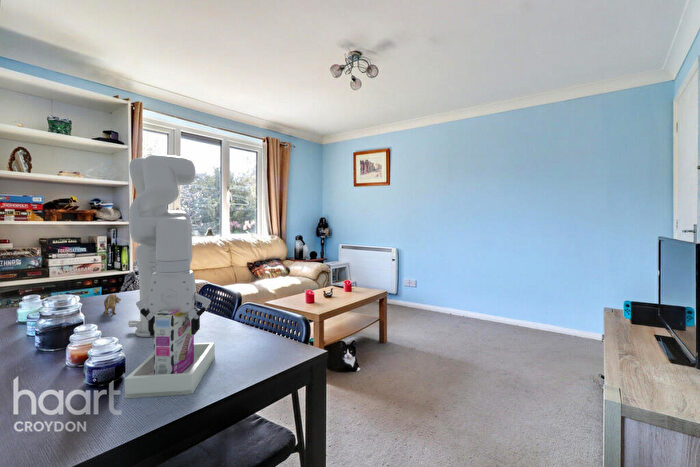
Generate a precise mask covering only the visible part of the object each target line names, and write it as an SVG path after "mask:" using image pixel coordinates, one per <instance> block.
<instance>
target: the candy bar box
mask: <svg viewBox="0 0 700 467" xmlns="http://www.w3.org/2000/svg"><path fill="white" fill-rule="evenodd" d="M153 315H154V337H153V353H154V375H162V374H180V373H182V372H183V371H185V370H186V369H187V368H188V367H189V366H190V365H191V364H192V363H193V362H194V343H195V335H192V334H191V320H192V319H193V317H192V316H191V315H190V314H189V313H180V312H179V311H159V312H157V313H154V314H153Z"/></svg>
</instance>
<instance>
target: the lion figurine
mask: <svg viewBox="0 0 700 467" xmlns="http://www.w3.org/2000/svg"><path fill="white" fill-rule="evenodd" d="M121 300H122V298H120V297H119V296H117V294H116V293H112V294H109V295H108V296H106V297H105V299H104V302H103V305H104V311H103V313H104V314H105V315H104V317H109V310H111V315H113V316H115V315H117V313H116V306H117V304H120V302H121Z"/></svg>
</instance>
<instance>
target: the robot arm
mask: <svg viewBox="0 0 700 467" xmlns="http://www.w3.org/2000/svg"><path fill="white" fill-rule="evenodd" d="M193 162H194V161H192V159H190V158H189V157H185V156H179V155H178V156H177V155H169V154H167V155H166V154H159V153H158V154H151V155H148V156H146V157H136V158H133V159H132V160H130V162H129V174H130V175H129V176H130V178H131V182H132V184H133V186H134V189H135V191H136V193H137V196H136V197H135V198H134V199H133V201H132V202H131V204H130V207H129V210H128V223H129V234H130V238H131V239H132V241H133V242H134V243H135V244H138V246H136V249H135V260H136V265H137V270H138V280H139V281H138V282H139V284H138V285H139V287H138V288H139V300H138V301H137V302H136V303H135V306H136V307H137V309H138V310H139V318H140V319H138V320H137V319H130V320H129V321H128V323H127V324H128V328H136V329H135V331H134V332H135V336H137V337H139V338H154V315H153V314H154V313H157V312H159V311H179V312H180V313H189V314H190V315H191V316H192V317H193V319H192V320H191V334H192V335H194V336H195V335H196V334H197V333H198V331H200V327H201V316H202V315H203V314H204V313H205V312H206V311H207V310H208V308H209V306H210V304H211V302H212V301H211V299H210V298H207V297H205V296H203V295H201V294H198V293H197V285H196V279H195V275H194V271H193V270H191V264H192V261H193V236H192V234H193V233H192V232H193V227H192V220H191V218H190V217H191V216H190V214H188V212H186V211H183V210H170V209H168V205H171V204H172V203H174V202H176V201H177V199H178V197H179V194H180V191H179V187H178V186H187V185H191V184H193V182H194V181H195V179H196V167H195V164H194V163H193ZM198 302H199V303H201V304H202V306H201V308H200V309H199V308H198V307H197V305H198V304H197V303H198Z"/></svg>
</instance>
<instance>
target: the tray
mask: <svg viewBox="0 0 700 467" xmlns="http://www.w3.org/2000/svg"><path fill="white" fill-rule="evenodd" d="M215 346H216V345H215V342H214V341H212V342H196V343H195V342H194V362H193V363H192V364H191V365H190V366H189V367H188V368H187V369H186V370H185V371H183V372H182V373H180V374H162V375H154V352H152V353H151V354H150V355H149V356H148V357H147V358H146V359H145V360H144V361H143V362H141V363H140V364H139V365H138V366H137V367H136V368H135V369H133V371H132V372H130V373H129V374H128V375H127V376H126V377H125V378H124V398H125V399H135V398H138V399H140V398H151V397H152V398H153V397H154V398H155V397H156V398H157V397H169V396H181V395H182V396H183V395H185V396H186V395H193V393H194V391H195V390H196V389H197V387H198V385H199V383H200V382H201V380H202V379H203V377H204V376H205V374H206V373H207V371H208V370H209V368H210V367H211V365H212V363H213V361H214V360H215V358H216V356H215V355H216V353H215V352H216V351H215V348H216V347H215Z"/></svg>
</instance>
